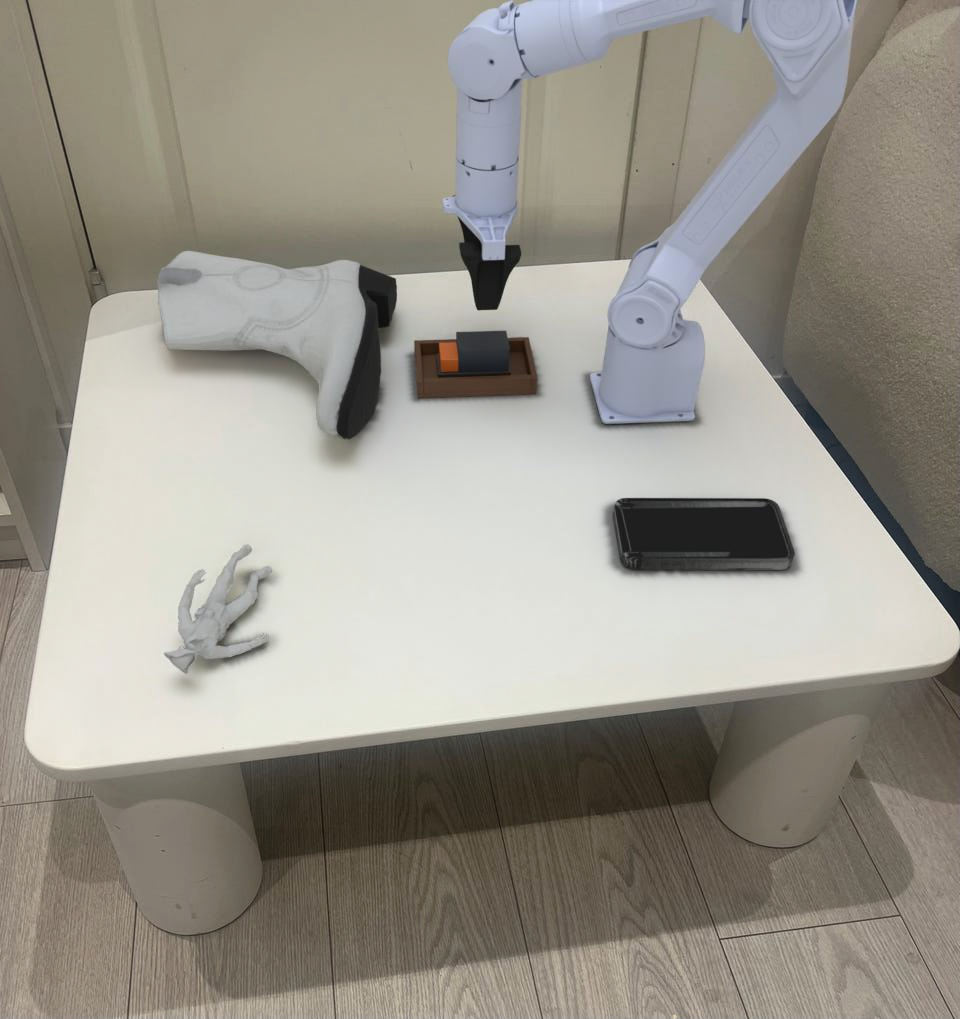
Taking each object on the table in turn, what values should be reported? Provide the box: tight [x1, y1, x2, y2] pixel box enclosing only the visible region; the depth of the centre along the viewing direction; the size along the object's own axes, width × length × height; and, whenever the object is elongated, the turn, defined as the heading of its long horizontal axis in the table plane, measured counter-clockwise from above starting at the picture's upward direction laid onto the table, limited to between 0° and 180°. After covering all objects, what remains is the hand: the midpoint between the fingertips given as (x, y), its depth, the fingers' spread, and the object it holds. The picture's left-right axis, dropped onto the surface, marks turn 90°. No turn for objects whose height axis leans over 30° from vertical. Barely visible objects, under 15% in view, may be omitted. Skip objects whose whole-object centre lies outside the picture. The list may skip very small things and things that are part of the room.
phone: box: [612, 497, 796, 571], centre depth 90 cm, size 8×1×15 cm
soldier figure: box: [163, 543, 274, 675], centre depth 80 cm, size 8×5×12 cm
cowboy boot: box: [156, 250, 398, 441], centre depth 103 cm, size 10×28×25 cm
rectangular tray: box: [413, 336, 539, 399], centre depth 105 cm, size 12×7×2 cm, turn 95°
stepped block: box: [436, 330, 511, 378], centre depth 104 cm, size 8×4×4 cm, turn 95°
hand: (482, 286), depth 101 cm, fingers open, 7 cm apart
